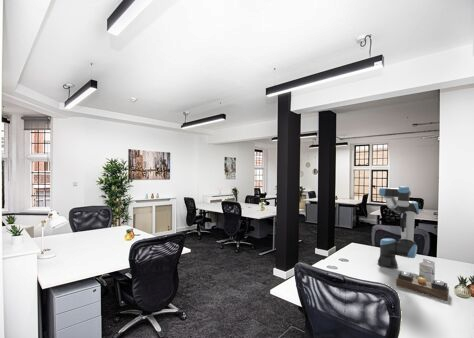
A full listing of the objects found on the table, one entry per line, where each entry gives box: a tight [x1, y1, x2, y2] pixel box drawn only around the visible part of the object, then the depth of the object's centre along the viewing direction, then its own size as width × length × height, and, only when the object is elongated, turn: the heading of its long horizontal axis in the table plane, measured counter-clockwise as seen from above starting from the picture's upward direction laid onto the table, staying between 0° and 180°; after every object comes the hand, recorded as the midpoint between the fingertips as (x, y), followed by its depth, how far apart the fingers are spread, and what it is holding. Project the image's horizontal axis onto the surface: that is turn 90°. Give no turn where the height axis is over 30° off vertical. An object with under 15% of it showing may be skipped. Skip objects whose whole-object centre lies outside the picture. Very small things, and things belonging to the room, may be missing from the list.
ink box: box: [418, 258, 436, 283], centre depth 188 cm, size 9×5×15 cm, turn 23°
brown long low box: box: [395, 271, 450, 302], centre depth 170 cm, size 12×28×8 cm, turn 45°
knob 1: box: [401, 271, 411, 277], centre depth 176 cm, size 5×5×4 cm
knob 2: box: [435, 279, 445, 286], centre depth 163 cm, size 5×5×4 cm
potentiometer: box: [417, 277, 427, 284], centre depth 170 cm, size 4×4×3 cm
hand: (403, 235), depth 191 cm, fingers closed
